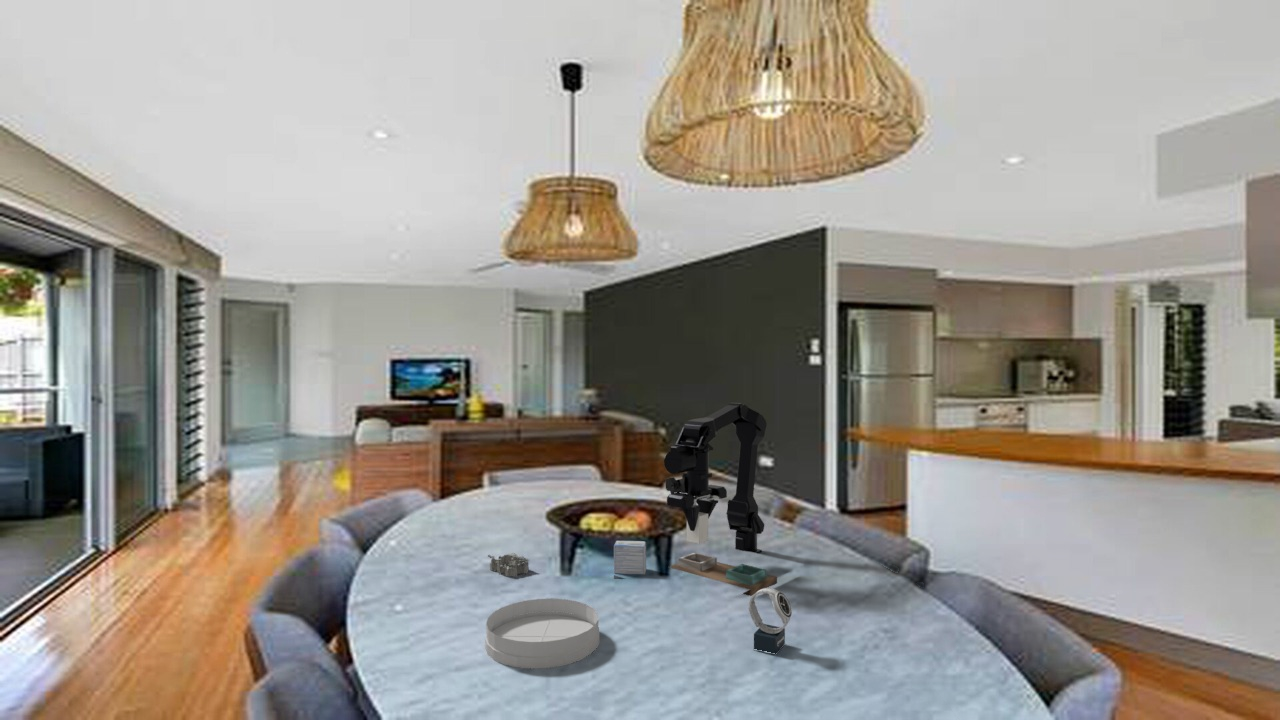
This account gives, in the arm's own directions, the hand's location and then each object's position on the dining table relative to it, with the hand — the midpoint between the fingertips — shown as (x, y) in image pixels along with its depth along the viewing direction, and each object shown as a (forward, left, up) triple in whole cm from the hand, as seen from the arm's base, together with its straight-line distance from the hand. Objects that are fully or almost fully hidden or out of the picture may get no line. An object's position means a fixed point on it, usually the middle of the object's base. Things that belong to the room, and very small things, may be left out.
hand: (697, 529), depth 175 cm
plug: (0, 0, -3) cm, 3 cm away
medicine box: (+15, -10, -11) cm, 21 cm away
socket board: (0, +7, -11) cm, 13 cm away
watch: (+27, +38, -11) cm, 48 cm away
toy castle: (+32, -37, -12) cm, 50 cm away
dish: (+55, +4, -12) cm, 56 cm away
